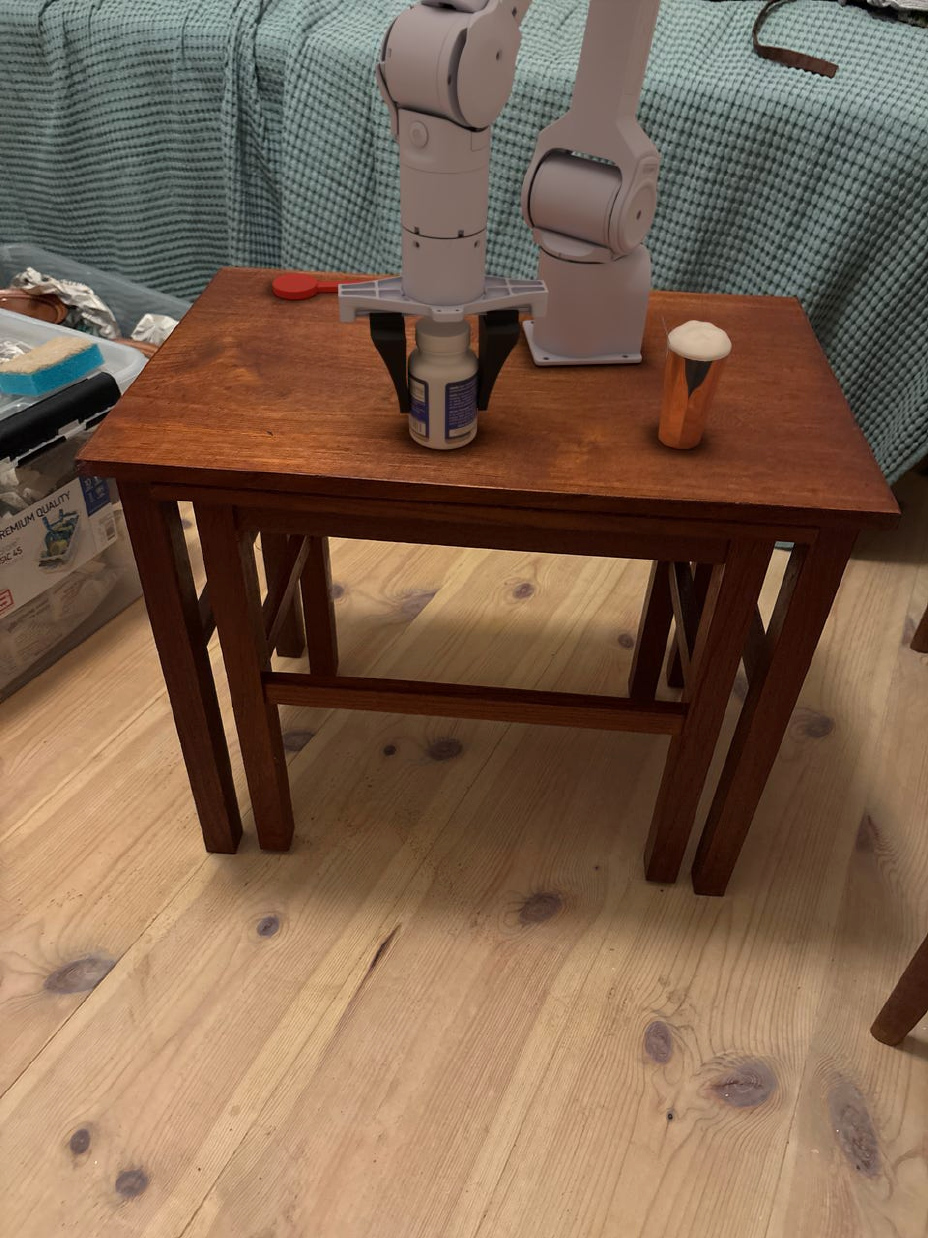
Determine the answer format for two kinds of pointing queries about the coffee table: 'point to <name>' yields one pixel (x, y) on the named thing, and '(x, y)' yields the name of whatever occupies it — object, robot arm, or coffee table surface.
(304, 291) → the red spoon
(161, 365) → the coffee table surface
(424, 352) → the pill bottle
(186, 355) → the coffee table surface
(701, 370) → the milkshake
